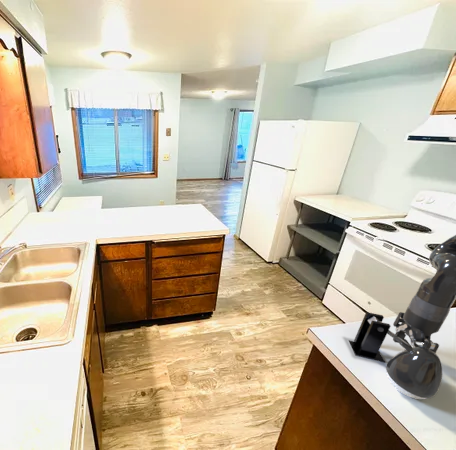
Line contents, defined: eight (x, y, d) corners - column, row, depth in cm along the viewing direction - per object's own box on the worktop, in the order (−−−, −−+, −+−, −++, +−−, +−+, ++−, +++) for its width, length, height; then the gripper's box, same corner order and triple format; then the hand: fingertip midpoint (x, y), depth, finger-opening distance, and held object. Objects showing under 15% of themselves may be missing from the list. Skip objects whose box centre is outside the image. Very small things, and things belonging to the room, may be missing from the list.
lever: (402, 343, 78) (409, 340, 77) (411, 356, 74) (419, 352, 73) (365, 317, 79) (372, 313, 78) (372, 328, 75) (379, 323, 74)
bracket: (372, 344, 83) (386, 313, 78) (384, 364, 76) (401, 331, 71) (345, 338, 85) (357, 307, 80) (354, 357, 78) (368, 324, 73)
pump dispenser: (381, 362, 76) (402, 328, 69) (428, 386, 69) (457, 351, 63) (377, 385, 69) (400, 351, 63) (429, 414, 63) (460, 379, 56)
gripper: (462, 332, 63) (435, 375, 69) (426, 299, 76) (405, 338, 82) (426, 325, 65) (403, 367, 71) (396, 294, 78) (379, 332, 84)
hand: (404, 352), depth 77 cm, fingers open, 8 cm apart
